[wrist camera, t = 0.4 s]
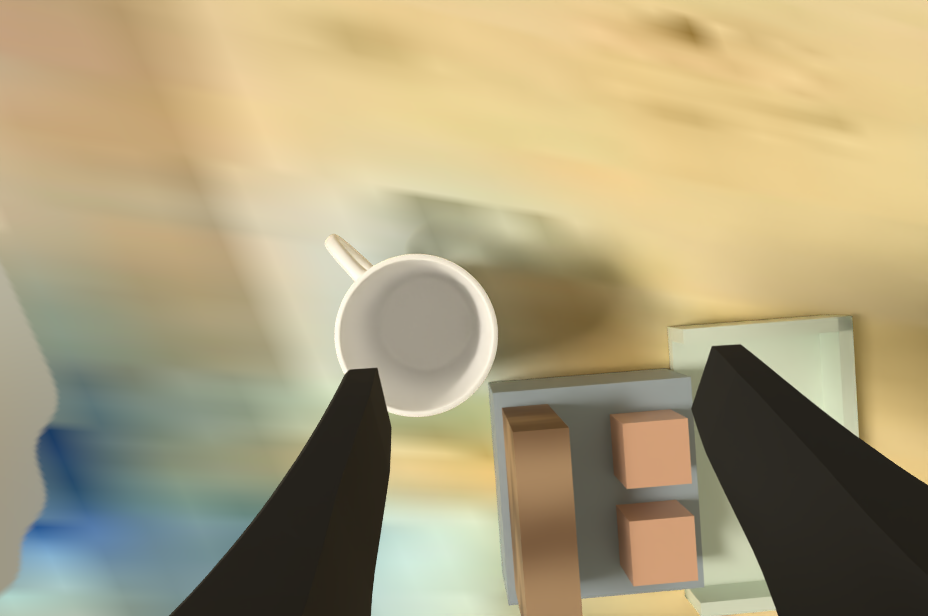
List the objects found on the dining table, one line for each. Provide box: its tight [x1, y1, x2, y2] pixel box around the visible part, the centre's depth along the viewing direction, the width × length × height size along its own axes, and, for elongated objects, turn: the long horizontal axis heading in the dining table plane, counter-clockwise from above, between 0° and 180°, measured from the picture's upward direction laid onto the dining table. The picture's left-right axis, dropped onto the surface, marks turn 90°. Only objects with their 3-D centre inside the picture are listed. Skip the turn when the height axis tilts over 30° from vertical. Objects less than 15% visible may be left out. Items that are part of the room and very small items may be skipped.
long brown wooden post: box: [502, 404, 582, 616], centre depth 31 cm, size 12×3×6 cm, turn 4°
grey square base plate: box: [488, 368, 704, 605], centre depth 36 cm, size 14×13×4 cm
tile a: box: [616, 500, 698, 586], centre depth 33 cm, size 4×4×2 cm
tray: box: [667, 315, 859, 616], centre depth 37 cm, size 20×12×2 cm, turn 4°
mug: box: [325, 234, 498, 417], centre depth 31 cm, size 12×8×12 cm
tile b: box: [610, 409, 692, 489], centre depth 33 cm, size 4×4×2 cm
